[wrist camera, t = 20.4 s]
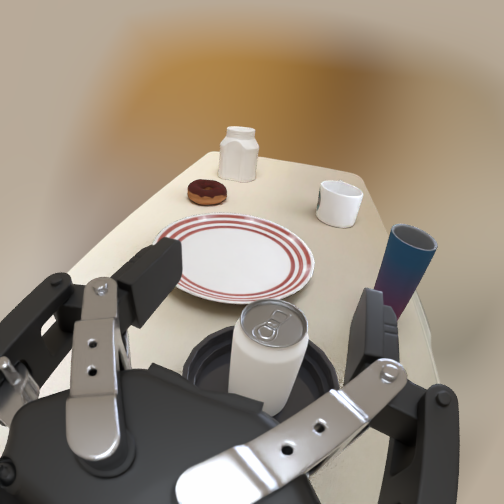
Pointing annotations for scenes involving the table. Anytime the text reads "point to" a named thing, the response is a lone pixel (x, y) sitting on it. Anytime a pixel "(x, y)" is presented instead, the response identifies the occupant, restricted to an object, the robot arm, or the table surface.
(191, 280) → the dinner plate
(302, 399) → the pan
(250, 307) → the can
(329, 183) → the mug
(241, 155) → the jar
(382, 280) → the cup
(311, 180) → the table surface
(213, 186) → the donut
